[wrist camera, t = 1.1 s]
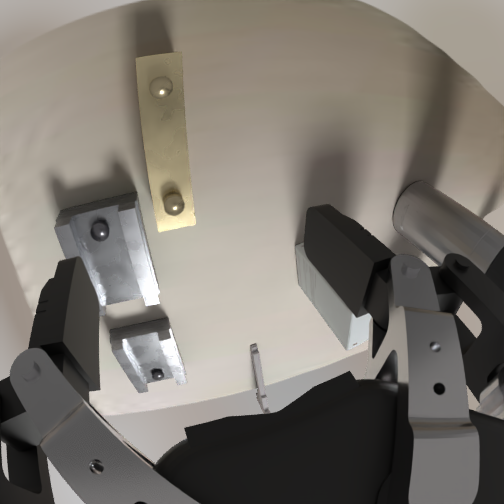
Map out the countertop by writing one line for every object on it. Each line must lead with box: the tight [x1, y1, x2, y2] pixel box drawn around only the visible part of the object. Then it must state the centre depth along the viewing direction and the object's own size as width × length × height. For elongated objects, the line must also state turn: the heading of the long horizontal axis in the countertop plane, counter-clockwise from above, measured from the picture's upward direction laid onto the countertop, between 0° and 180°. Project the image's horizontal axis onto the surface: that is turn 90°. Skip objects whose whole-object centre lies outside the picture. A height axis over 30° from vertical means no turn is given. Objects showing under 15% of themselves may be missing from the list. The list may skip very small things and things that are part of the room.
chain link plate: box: [136, 52, 196, 232], centre depth 21 cm, size 3×14×6 cm, turn 0°
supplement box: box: [295, 242, 372, 350], centre depth 34 cm, size 7×7×13 cm
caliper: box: [251, 344, 270, 414], centre depth 49 cm, size 20×1×6 cm, turn 4°
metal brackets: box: [54, 192, 187, 393], centre depth 31 cm, size 8×28×4 cm, turn 0°
